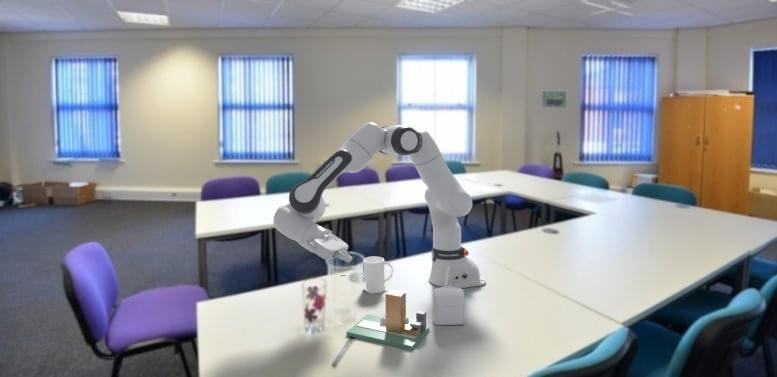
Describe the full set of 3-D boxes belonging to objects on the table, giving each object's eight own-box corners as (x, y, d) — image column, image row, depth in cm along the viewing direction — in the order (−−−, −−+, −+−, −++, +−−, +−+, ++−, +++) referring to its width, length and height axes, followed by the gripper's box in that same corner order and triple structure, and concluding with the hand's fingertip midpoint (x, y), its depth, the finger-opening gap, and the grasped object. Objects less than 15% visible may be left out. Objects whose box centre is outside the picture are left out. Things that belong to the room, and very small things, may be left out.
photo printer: (433, 326, 156) (433, 289, 154) (431, 320, 160) (432, 284, 158) (464, 326, 156) (465, 289, 154) (463, 320, 160) (463, 284, 158)
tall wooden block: (385, 330, 150) (385, 293, 148) (391, 325, 153) (391, 289, 151) (415, 336, 145) (415, 299, 143) (420, 331, 149) (420, 294, 147)
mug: (391, 284, 193) (391, 255, 191) (395, 292, 185) (394, 261, 183) (362, 285, 191) (361, 256, 189) (364, 294, 183) (363, 263, 181)
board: (346, 335, 150) (346, 315, 149) (367, 317, 163) (367, 299, 162) (412, 350, 141) (412, 329, 140) (429, 330, 153) (429, 311, 152)
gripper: (309, 232, 151) (346, 255, 149) (329, 229, 171) (362, 249, 169) (299, 250, 152) (336, 273, 149) (321, 244, 172) (354, 264, 169)
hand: (350, 260), depth 159 cm, fingers closed
